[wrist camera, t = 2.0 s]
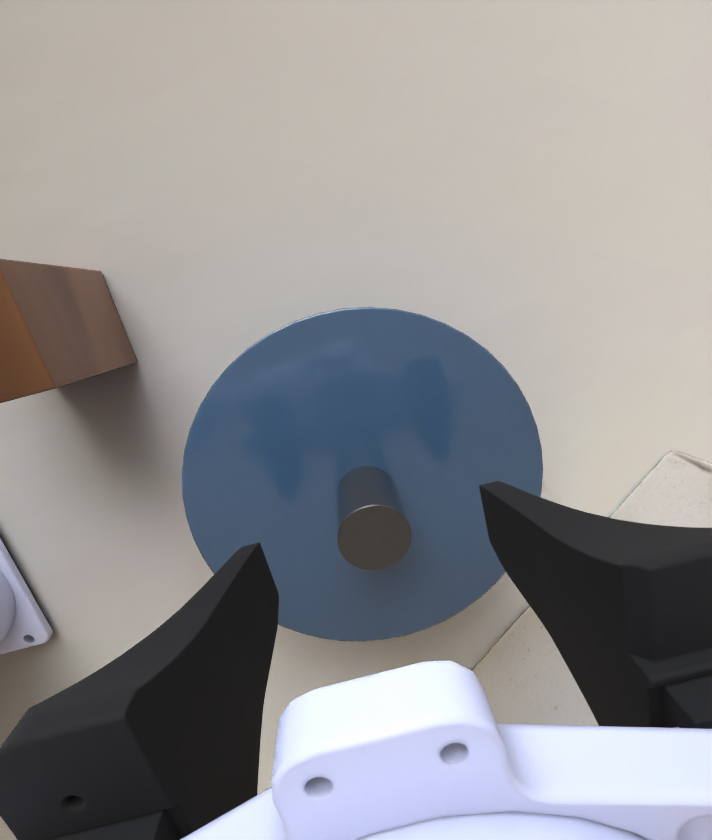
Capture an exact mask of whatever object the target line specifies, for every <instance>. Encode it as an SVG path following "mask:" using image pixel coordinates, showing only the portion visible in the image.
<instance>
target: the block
mask: <svg viewBox="0 0 712 840" xmlns="http://www.w3.org/2000/svg"><path fill="white" fill-rule="evenodd" d="M135 362H137V359H136V357H135V354H134V352H133V349H132V347H131V345H130V342H129V340H128V337H127V335H126V332H125V330H124V327H123V325H122V322H121V320H120V317H119V315H118V312H117V310H116V307H115V305H114V302H113V300H112V298H111V295H110V293H109V290H108V288H107V285H106V283H105V280H104V278H103V275H102V273H101V271H96V270H87V269H79V268H71V267H63V266H55V265H47V264H38V263H30V262H22V261H14V260H6V259H0V403H3V402H7V401H11V400H14V399H18V398H22V397H25V396H29V395H33V394H37V393H40V392H44V391H48V390H52V389H55V388H58V387H62V386H65V385H68V384H71V383H74V382H77V381H80V380H83V379H86V378H89V377H92V376H95V375H98V374H102V373H105V372H108V371H111V370H114V369H117V368H120V367H123V366H126V365H129V364H132V363H135Z"/></svg>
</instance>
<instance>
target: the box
mask: <svg viewBox="0 0 712 840" xmlns="http://www.w3.org/2000/svg"><path fill="white" fill-rule="evenodd" d="M610 518H613V519H618V520H624V521H631V522H637V523H644V524H653V525H663V526H677V527H696V528H712V463H711V462H708V461H705V460H703V459H700V458H697V457H694V456H691V455H689V454H686V453H683V452H678V451H671V452H670V453H668V454H667V455H666V456H665V457H664V458H663V459H662V460H661V461H660V462H659V463H658V464H657V466H656V467H655V468H654V469H653V470H652V471H651V472H650V473H649V474H648V475H647V476H646V477H645V478H644V479H643V481H642V482H641V483H640V484H639V485H638V486H637V487H636V489H635V490H634V491H633V492H632V493H631V494H630V495H629V496H628V498H627V499H626V500H625V501H624V502H623V503H622V504H621V505H620V507H619V508H618V509H617V510H616V511H615V512H614V513H613V514H612V515H611V517H610ZM472 671H473V672H474V674H475V676H476V677H477V679H478V680H479V682H480V684H481V685H482V687H483V689H484V691H485V694H486V696H487V699H488V702H489V704H490V707H491V709H492V712H493V714H494V717H495V719H496V722H497V724H533V725H575V726H599V725H598V723H597V721H596V719H595V717H594V715H593V713H592V711H591V709H590V707H589V706H588V704H587V702H586V700H585V698H584V696H583V694H582V692H581V691H580V689H579V687H578V685H577V683H576V681H575V679H574V678H573V676H572V674H571V672H570V670H569V668H568V666H567V665H566V663H565V661H564V659H563V657H562V656H561V654H560V652H559V650H558V649H557V647H556V645H555V643H554V641H553V640H552V638H551V636H550V635H549V633H548V631H547V630H546V628H545V627H544V625H543V624H542V622H541V621H540V619H539V618H538V616H537V615H536V614H535V612H534V611H533V609H532V608H531V607H530V606H529V608H528V609H527V610H526V611H525V612H524V613H523V614H522V615H521V616H520V618H519V619H518V620H517V621H516V622H515V623H514V624H513V625H512V626H511V627H510V628H509V630H508V631H507V632H506V633H505V634H504V635H503V636H502V637H501V639H500V640H499V641H498V642H497V643H496V644H495V645H494V646H493V647H492V649H491V650H490V651H489V652H488V654H487V655H486V656H485V657H484V658H483V659H482V661H481V662H479V663H478V665H477V666H476V667H475V668H474V669H473V670H472Z"/></svg>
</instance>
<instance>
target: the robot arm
mask: <svg viewBox="0 0 712 840" xmlns="http://www.w3.org/2000/svg"><path fill="white" fill-rule="evenodd" d="M479 489H480V494H481V500H482V505H483V510H484V515H485V521H486V526H487V531H488V536H489V541H490V543H491V545H492V547H493V549H494V551H495V553H496V555H497V557H498V559H499V561H500V563H501V564H502V566H503V568H504V569H505V571H506V572H507V574H508V575H509V577H510V578H511V579H512V581H513V582H514V584H515V585H516V587H517V588H518V590H519V591H520V592H521V594H522V595H523V597H524V598H525V599H526V601H527V602H528V604H529V605H530V607H531V608H532V609H533V611H534V612H535V614H536V615H537V616H538V618H539V619H540V621H541V622H542V624H543V625H544V627H545V628H546V630H547V631H548V633H549V635H550V636H551V638H552V640H553V641H554V643H555V645H556V647H557V649H558V650H559V652H560V654H561V656H562V657H563V659H564V661H565V663H566V665H567V666H568V668H569V670H570V672H571V674H572V676H573V678H574V679H575V681H576V683H577V685H578V687H579V689H580V691H581V692H582V694H583V696H584V698H585V700H586V702H587V704H588V706H589V707H590V709H591V711H592V713H593V715H594V717H595V719H596V721H597V723H598V725H599V726H575V725H533V724H497V722H496V719H495V717H494V714H493V712H492V709H491V707H490V704H489V702H488V699H487V696H486V694H485V691H484V689H483V687H482V685H481V684H480V682H479V680H478V679H477V677H476V676H475V674H474V672H473V671H472V670H470V669H468V668H466V667H463V666H461V665H459V664H457V663H455V662H453V661H424V662H420V663H416V664H412V665H408V666H404V667H400V668H396V669H392V670H388V671H384V672H380V673H376V674H372V675H368V676H364V677H360V678H356V679H352V680H349V681H345V682H341V683H337V684H333V685H329V686H325V687H321V688H317V689H314V690H312V691H310V692H308V693H306V694H304V695H302V696H300V697H298V698H296V699H294V700H292V701H291V702H290V704H289V705H288V707H287V708H286V710H285V711H284V712H283V714H282V715H281V717H280V718H279V723H278V731H277V739H276V747H275V755H274V763H273V771H272V779H271V782H272V787H271V788H269V789H267V790H265V791H264V792H262V793H260V794H258V795H257V785H258V768H259V752H260V738H261V725H262V713H263V705H264V698H265V691H266V686H267V680H268V675H269V670H270V664H271V659H272V654H273V649H274V643H275V637H276V632H277V626H278V612H279V593H278V591H277V588H276V585H275V582H274V580H273V577H272V574H271V571H270V569H269V566H268V563H267V561H266V558H265V555H264V552H263V550H262V547H261V544H260V542H259V543H255V544H251V545H247V546H243V547H241V548H240V549H239V550H237V551H236V552H235V553H234V554H233V555H232V556H231V557H230V558H229V560H228V561H227V562H226V563H225V564H224V565H223V566H222V567H221V568H220V569H219V570H218V571H217V572H216V573H215V574H214V576H213V577H212V578H211V579H210V580H209V581H208V582H207V583H206V584H205V585H204V586H203V587H202V588H201V589H200V590H199V591H198V592H197V593H196V594H195V595H194V596H193V597H192V598H191V599H190V600H189V601H188V602H187V603H186V604H185V605H184V606H183V607H182V608H181V609H180V610H178V611H177V612H176V613H175V614H174V615H173V616H172V617H171V618H169V619H168V620H167V621H166V622H165V623H163V624H162V625H161V626H160V627H159V628H157V629H156V630H155V631H154V632H152V633H151V634H150V635H149V636H147V637H146V638H144V639H143V640H142V641H140V642H139V643H138V644H136V645H135V646H133V647H132V648H131V649H129V650H128V651H127V652H125V653H124V654H122V655H121V656H120V657H118V658H117V659H115V660H113V661H112V662H110V663H109V664H107V665H106V666H104V667H103V668H101V669H99V670H98V671H96V672H94V673H93V674H91V675H90V676H88V677H86V678H85V679H83V680H81V681H79V682H78V683H76V684H74V685H72V686H71V687H69V688H67V689H65V690H63V691H61V692H59V693H58V694H56V695H54V696H52V697H50V698H48V699H46V700H44V701H43V702H41V703H39V704H37V705H35V706H33V707H31V708H29V709H28V710H27V712H26V713H25V714H24V716H23V717H22V719H21V720H20V721H19V723H18V724H17V726H16V727H15V728H14V730H13V731H12V732H11V734H10V735H9V737H8V738H7V739H6V741H5V742H4V743H3V745H2V746H1V748H0V816H1V817H2V818H3V820H4V821H5V823H6V824H7V825H8V827H9V828H10V830H11V831H12V832H13V834H14V835H15V837H16V838H17V839H18V840H712V528H696V527H677V526H663V525H653V524H644V523H637V522H631V521H624V520H618V519H613V518H608V517H603V516H599V515H595V514H591V513H586V512H583V511H579V510H575V509H572V508H569V507H566V506H563V505H560V504H557V503H554V502H551V501H548V500H546V499H543V498H540V497H538V496H535V495H533V494H530V493H528V492H525V491H523V490H520V489H518V488H516V487H513V486H511V485H508V484H506V483H503V482H500V481H495V482H491V483H487V484H483V485H479ZM52 633H53V632H52V629H51V627H50V625H49V624H48V622H47V620H46V618H45V617H44V615H43V613H42V611H41V609H40V608H39V606H38V604H37V602H36V601H35V599H34V597H33V595H32V594H31V592H30V590H29V588H28V586H27V585H26V583H25V581H24V579H23V578H22V576H21V574H20V572H19V570H18V569H17V567H16V565H15V563H14V562H13V560H12V558H11V556H10V554H9V553H8V551H7V549H6V547H5V546H4V544H3V542H2V540H1V539H0V655H1V654H5V653H9V652H13V651H16V650H20V649H24V648H28V647H32V646H36V645H40V644H43V643H46V642H47V641H48V640H49V638H50V637H51V636H52ZM30 635H31V636H33V637H31V636H30Z"/></svg>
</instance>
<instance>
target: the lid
mask: <svg viewBox="0 0 712 840" xmlns="http://www.w3.org/2000/svg"><path fill="white" fill-rule="evenodd" d="M542 475H543V464H542V450H541V444H540V439H539V434H538V430H537V426H536V423H535V420H534V417H533V415H532V412H531V409H530V407H529V404H528V403H527V401H526V399H525V397H524V395H523V393H522V392H521V390H520V388H519V386H518V385H517V383H516V382H515V381H514V379H513V378H512V377H511V375H510V374H509V373H508V371H507V370H506V369H505V367H504V366H503V365H502V364H501V363H500V362H499V361H498V360H497V359H496V358H495V357H494V356H493V355H492V354H491V353H490V352H489V351H488V350H486V349H485V348H484V347H482V346H481V345H480V344H478V343H477V342H476V341H474V340H473V339H471V338H470V337H469V336H467V335H466V334H464V333H462V332H460V331H458V330H456V329H454V328H453V327H451V326H449V325H447V324H445V323H442V322H440V321H437V320H434V319H431V318H429V317H426V316H423V315H420V314H415V313H411V312H406V311H402V310H397V309H387V308H374V307H362V308H344V309H338V310H333V311H328V312H323V313H318V314H315V315H312V316H309V317H306V318H303V319H300V320H297V321H294V322H292V323H290V324H288V325H286V326H284V327H282V328H280V329H278V330H276V331H274V332H272V333H270V334H268V335H267V336H265V337H264V338H262V339H261V340H259V341H258V342H257V343H255V344H254V345H252V346H251V347H249V348H248V349H247V350H245V351H244V352H243V353H242V354H241V355H240V356H239V357H238V358H237V359H236V360H235V361H233V362H232V363H231V364H230V365H229V366H228V367H227V368H226V370H225V371H224V372H223V373H222V374H221V376H220V377H219V378H218V379H217V381H216V382H215V383H214V384H213V385H212V387H211V389H210V390H209V392H208V393H207V395H206V397H205V398H204V400H203V402H202V403H201V405H200V407H199V409H198V411H197V414H196V416H195V418H194V421H193V423H192V426H191V428H190V431H189V435H188V439H187V443H186V447H185V450H184V459H183V468H182V492H183V501H184V506H185V512H186V517H187V521H188V524H189V527H190V530H191V532H192V535H193V538H194V541H195V543H196V545H197V547H198V549H199V551H200V553H201V555H202V557H203V558H204V560H205V561H206V563H207V564H208V566H209V567H210V569H211V570H212V572H213V573H214V574H215V573H216V572H217V571H218V570H219V569H220V568H221V567H222V566H223V565H224V564H225V563H226V562H227V561H228V560H229V558H230V557H231V556H232V555H233V554H234V553H235V552H236V551H237V550H239V549H240V548H241V547H243V546H247V545H251V544H255V543H259V542H260V544H261V547H262V550H263V552H264V555H265V558H266V561H267V563H268V566H269V569H270V571H271V574H272V577H273V580H274V582H275V585H276V588H277V591H278V593H279V612H278V625H280V626H283V627H285V628H288V629H291V630H294V631H296V632H299V633H302V634H306V635H310V636H314V637H319V638H324V639H331V640H339V641H373V640H384V639H389V638H394V637H399V636H404V635H408V634H411V633H414V632H417V631H421V630H424V629H427V628H429V627H431V626H433V625H436V624H438V623H440V622H443V621H445V620H447V619H448V618H450V617H452V616H454V615H455V614H457V613H459V612H461V611H462V610H464V609H465V608H467V607H468V606H469V605H471V604H472V603H473V602H475V601H476V600H477V599H479V598H480V597H481V596H482V595H483V594H484V593H486V592H487V591H488V590H489V589H490V588H491V587H492V586H493V585H494V584H495V583H496V582H497V581H498V580H499V579H500V577H501V576H502V575H503V574H504V573H505V572H506V571H505V569H504V568H503V566H502V564H501V563H500V561H499V559H498V557H497V555H496V553H495V551H494V549H493V547H492V545H491V543H490V541H489V536H488V531H487V526H486V521H485V515H484V510H483V505H482V500H481V494H480V489H479V485H483V484H487V483H491V482H495V481H500V482H503V483H506V484H508V485H511V486H513V487H516V488H518V489H520V490H523V491H525V492H528V493H530V494H533V495H535V496H538V497H540V495H541V489H542Z"/></svg>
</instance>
